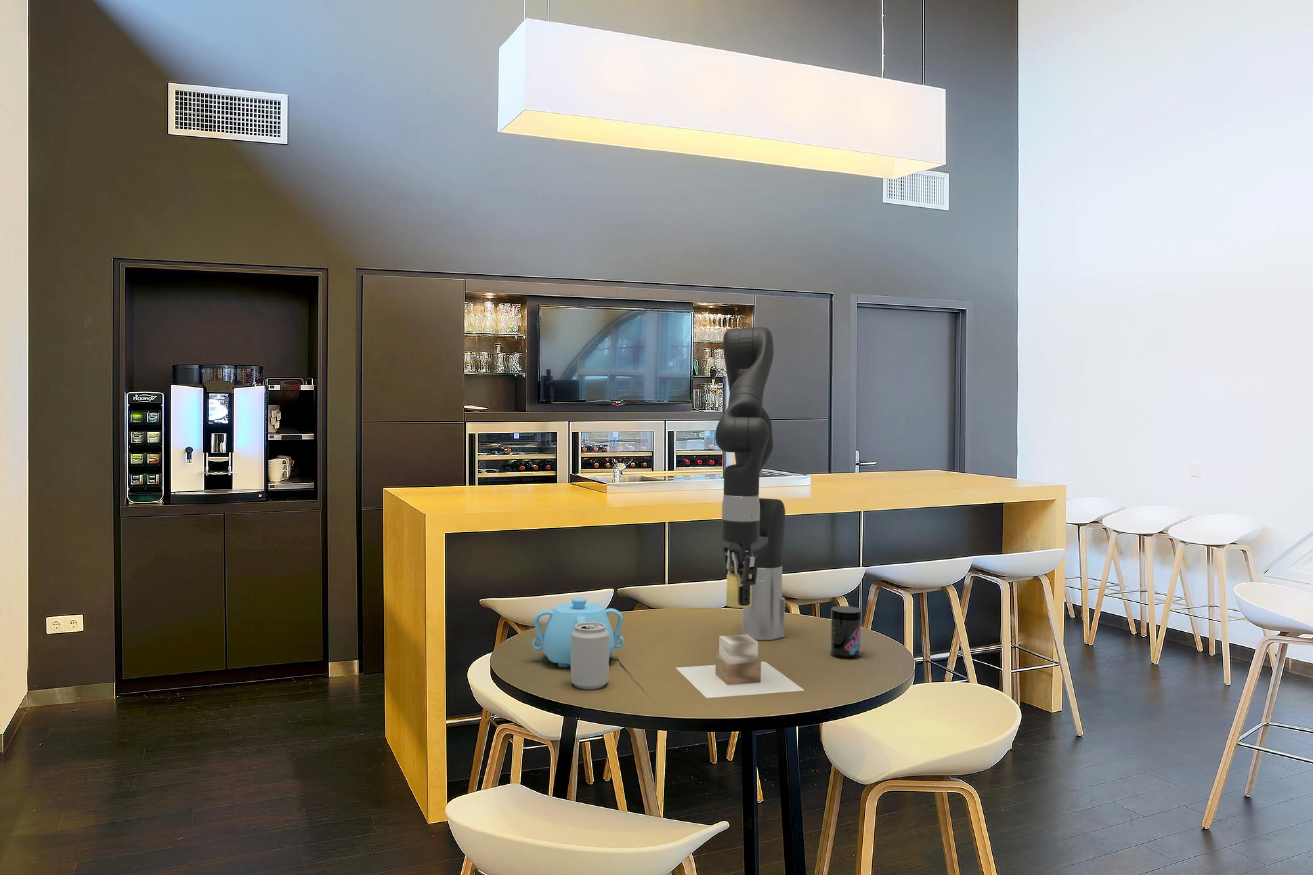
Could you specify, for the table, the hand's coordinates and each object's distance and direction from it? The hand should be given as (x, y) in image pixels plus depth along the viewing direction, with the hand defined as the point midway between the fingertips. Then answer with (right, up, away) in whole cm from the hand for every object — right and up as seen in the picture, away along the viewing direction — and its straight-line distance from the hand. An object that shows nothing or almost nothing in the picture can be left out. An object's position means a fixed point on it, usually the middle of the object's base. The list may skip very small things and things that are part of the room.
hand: (739, 601), depth 185 cm
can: (-30, -16, -1) cm, 34 cm away
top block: (0, -11, 0) cm, 11 cm away
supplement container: (+26, -16, +23) cm, 38 cm away
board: (0, -16, +1) cm, 16 cm away
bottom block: (0, -15, +1) cm, 15 cm away
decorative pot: (-33, -16, +15) cm, 40 cm away
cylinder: (0, -1, 0) cm, 1 cm away
